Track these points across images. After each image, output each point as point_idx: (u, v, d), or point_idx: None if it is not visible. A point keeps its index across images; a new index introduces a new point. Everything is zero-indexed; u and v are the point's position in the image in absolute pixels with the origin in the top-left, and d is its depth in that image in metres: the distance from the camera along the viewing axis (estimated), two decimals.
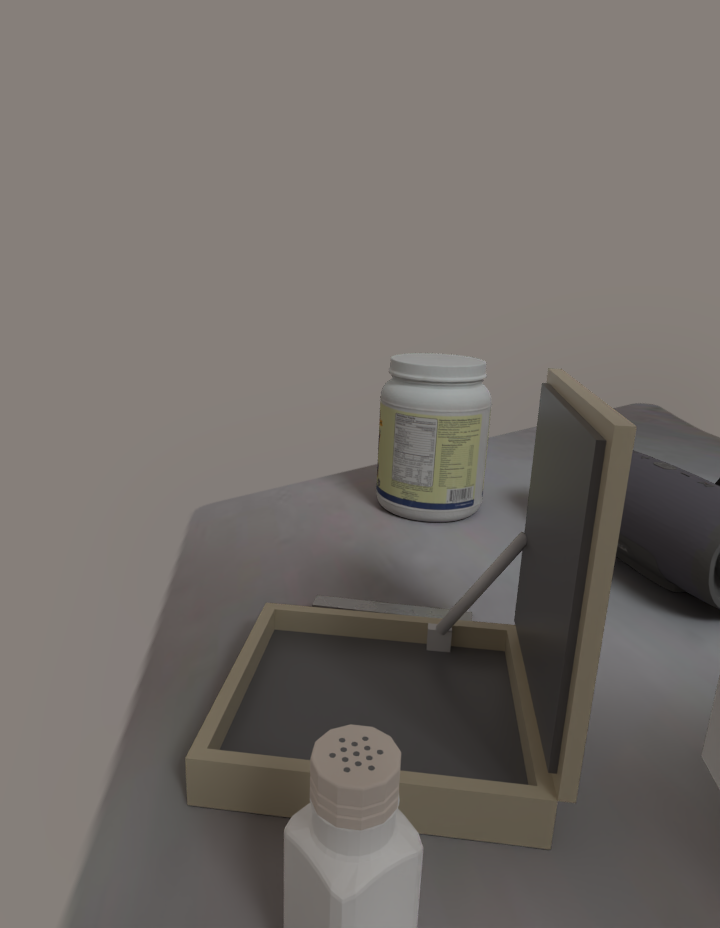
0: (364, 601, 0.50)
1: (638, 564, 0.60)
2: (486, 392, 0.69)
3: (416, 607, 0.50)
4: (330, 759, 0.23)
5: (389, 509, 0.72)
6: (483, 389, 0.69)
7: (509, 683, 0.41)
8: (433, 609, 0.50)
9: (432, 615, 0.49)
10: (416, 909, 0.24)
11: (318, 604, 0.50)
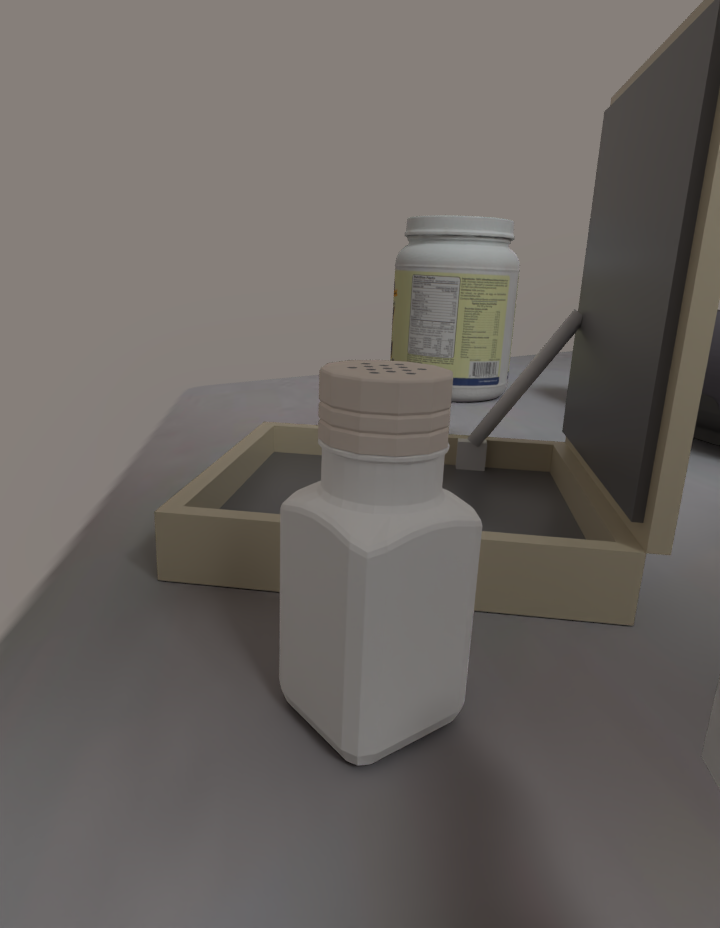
0: None
1: None
2: (514, 254, 0.62)
3: None
4: (349, 368, 0.15)
5: None
6: (511, 250, 0.61)
7: (559, 492, 0.33)
8: None
9: None
10: (469, 624, 0.17)
11: None
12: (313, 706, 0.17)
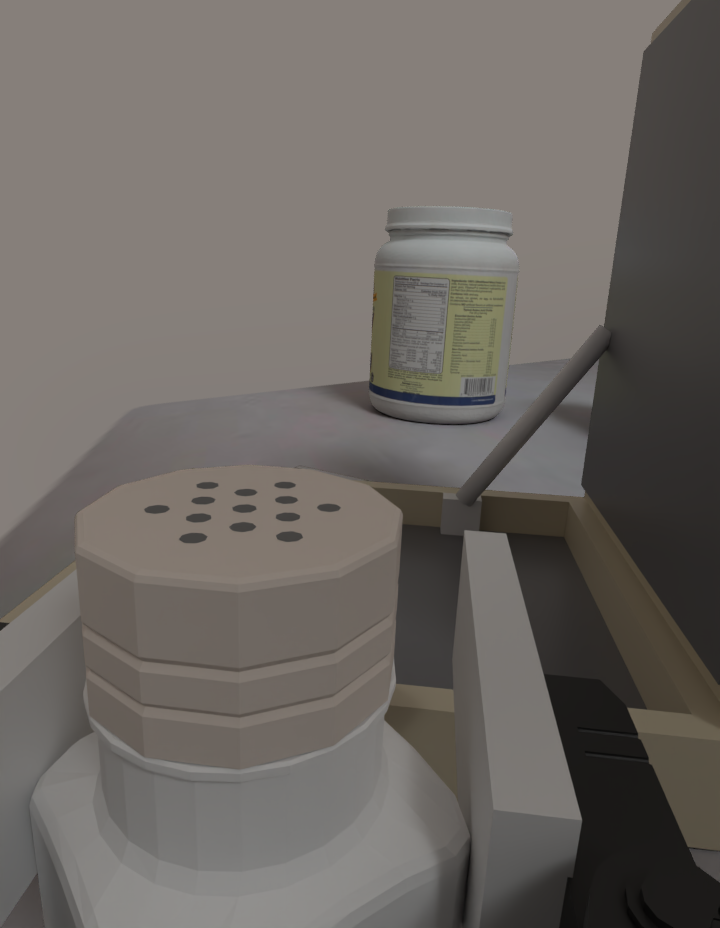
0: (355, 479, 0.35)
1: None
2: (513, 252, 0.53)
3: None
4: (144, 516, 0.06)
5: (385, 409, 0.55)
6: (509, 248, 0.53)
7: (580, 574, 0.25)
8: None
9: None
10: None
11: None
12: None
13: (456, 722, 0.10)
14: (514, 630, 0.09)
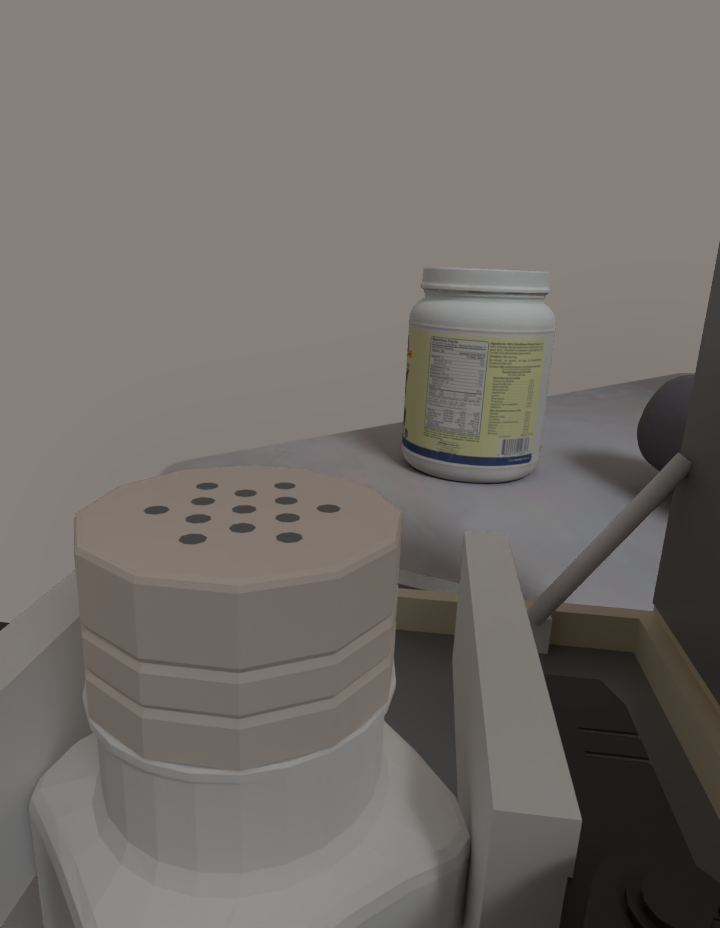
0: (407, 572, 0.34)
1: None
2: (550, 311, 0.52)
3: None
4: (143, 517, 0.06)
5: (420, 467, 0.55)
6: (546, 307, 0.52)
7: (660, 706, 0.24)
8: None
9: None
10: None
11: None
12: None
13: (456, 722, 0.10)
14: (514, 630, 0.09)
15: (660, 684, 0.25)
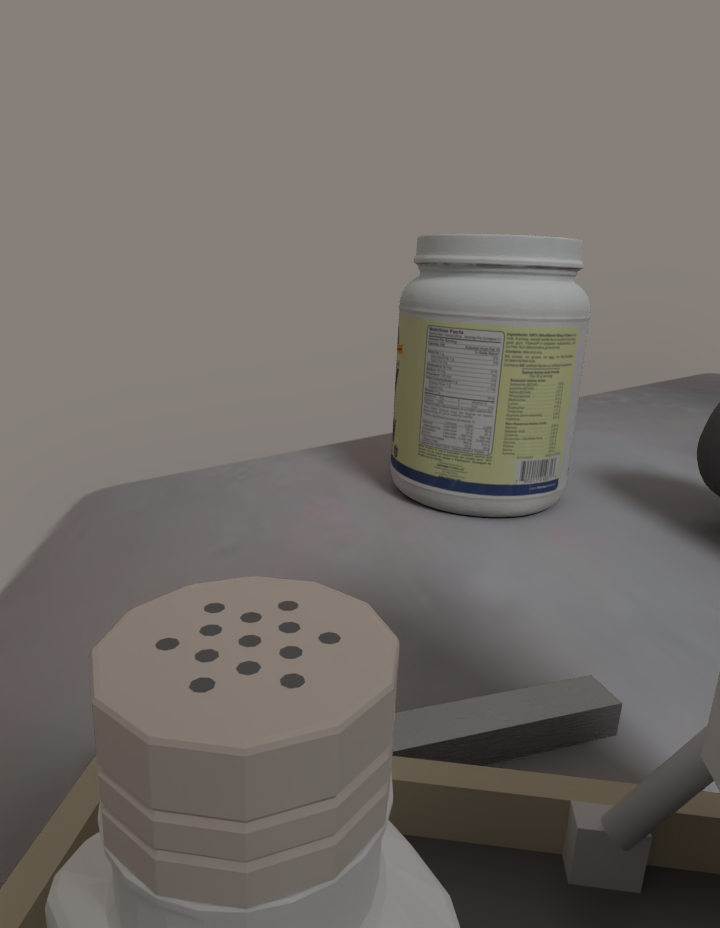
0: None
1: None
2: (584, 292, 0.40)
3: (489, 699, 0.21)
4: (155, 654, 0.07)
5: (413, 495, 0.42)
6: (579, 287, 0.40)
7: None
8: (524, 693, 0.22)
9: (539, 711, 0.21)
10: None
11: None
12: None
13: None
14: None
15: None
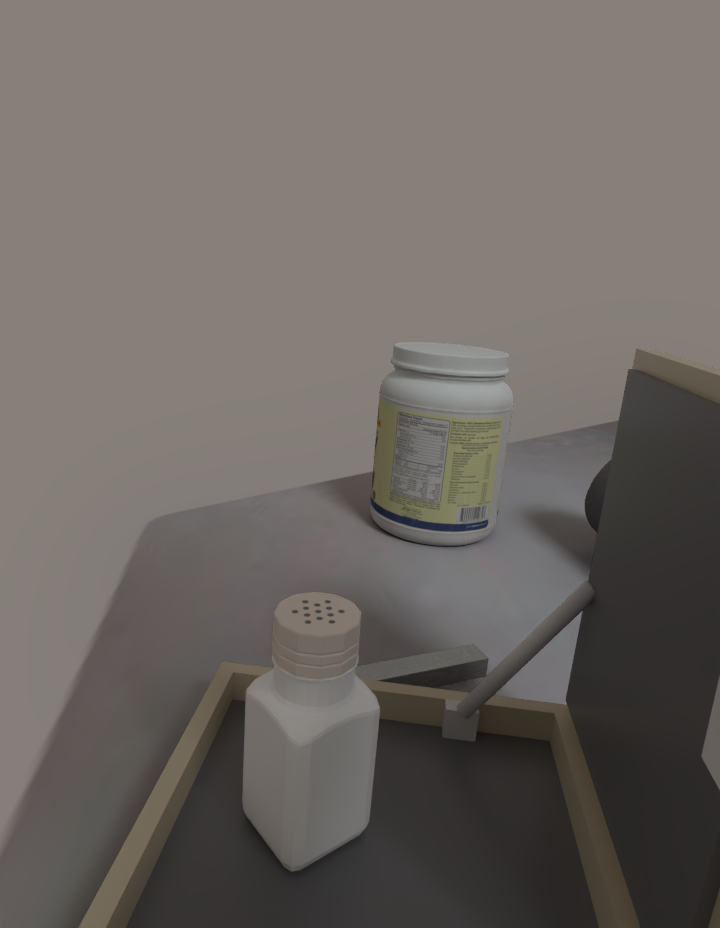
0: None
1: None
2: (509, 390, 0.57)
3: (416, 657, 0.38)
4: (292, 614, 0.23)
5: (385, 528, 0.59)
6: (505, 387, 0.57)
7: (563, 797, 0.29)
8: (435, 654, 0.39)
9: (443, 662, 0.38)
10: (371, 772, 0.25)
11: None
12: (264, 827, 0.25)
13: None
14: None
15: (564, 777, 0.29)
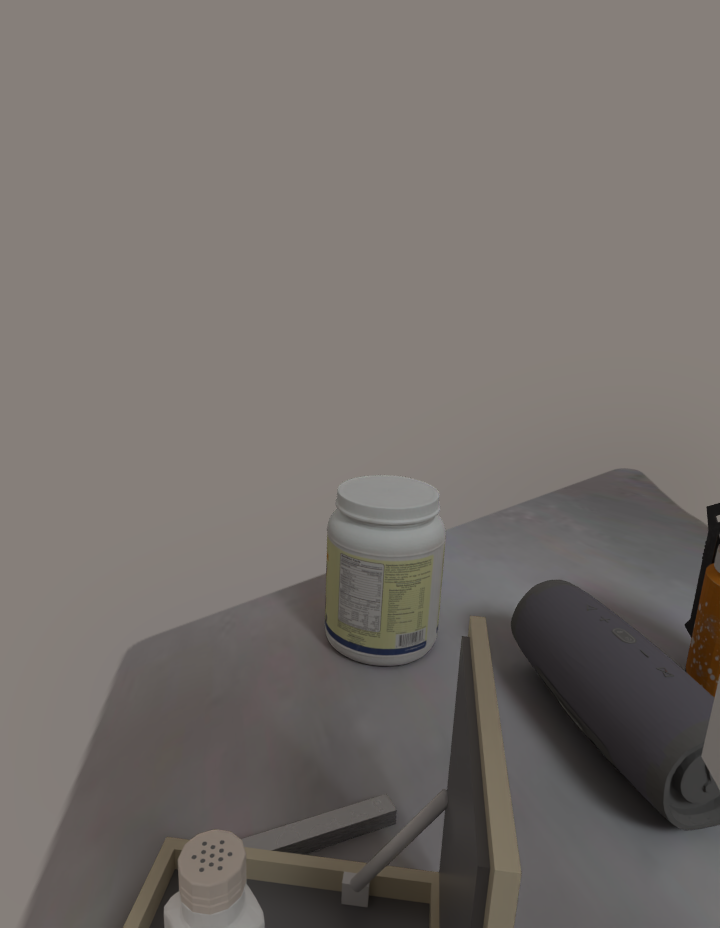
0: (279, 829, 0.44)
1: None
2: (439, 528, 0.64)
3: (334, 812, 0.46)
4: (191, 860, 0.31)
5: (336, 649, 0.67)
6: (435, 526, 0.64)
7: None
8: (351, 807, 0.46)
9: (356, 817, 0.46)
10: None
11: None
12: None
13: None
14: None
15: None
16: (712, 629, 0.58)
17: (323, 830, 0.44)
